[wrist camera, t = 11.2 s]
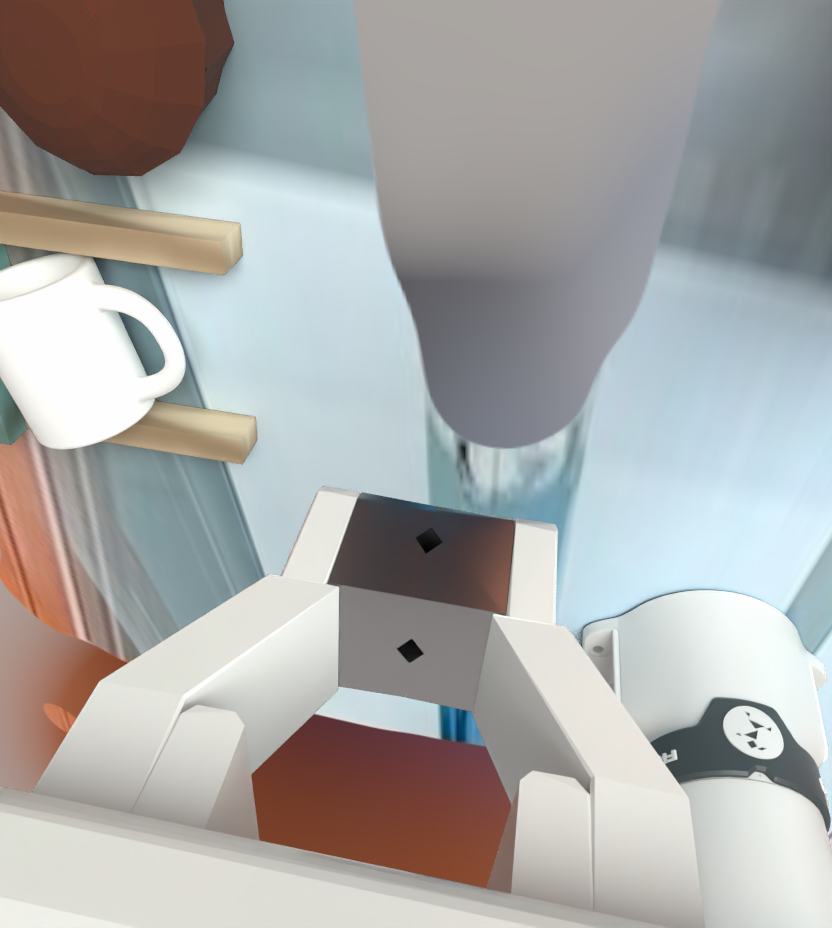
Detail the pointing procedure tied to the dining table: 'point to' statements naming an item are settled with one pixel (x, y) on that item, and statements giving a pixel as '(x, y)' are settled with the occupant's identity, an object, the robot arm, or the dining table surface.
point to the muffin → (111, 76)
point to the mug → (78, 351)
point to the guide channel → (144, 243)
